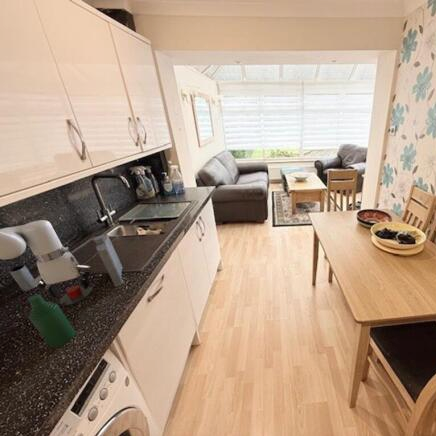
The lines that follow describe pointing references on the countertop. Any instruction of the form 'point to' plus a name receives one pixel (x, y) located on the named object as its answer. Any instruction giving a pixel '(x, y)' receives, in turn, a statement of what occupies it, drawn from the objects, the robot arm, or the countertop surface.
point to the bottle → (50, 322)
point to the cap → (74, 292)
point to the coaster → (68, 301)
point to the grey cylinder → (23, 277)
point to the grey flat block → (109, 258)
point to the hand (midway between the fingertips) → (72, 290)
